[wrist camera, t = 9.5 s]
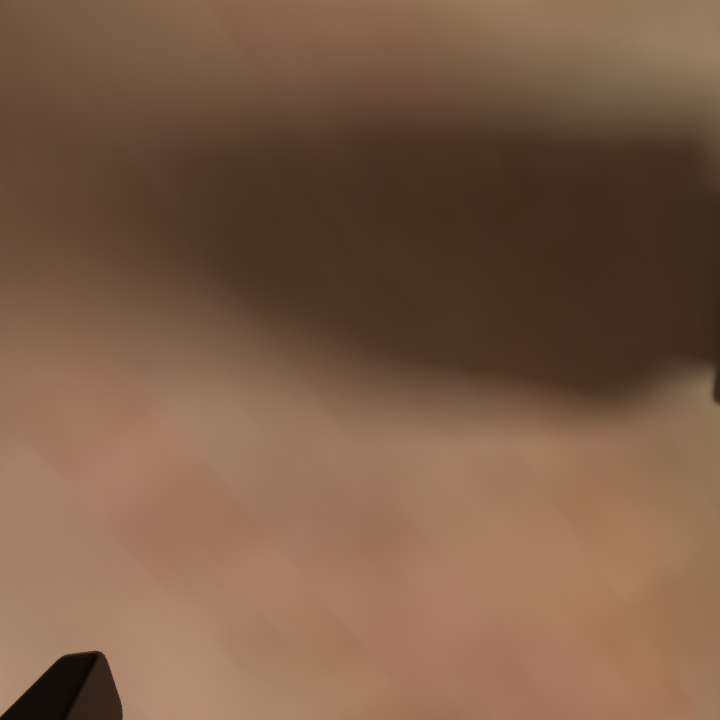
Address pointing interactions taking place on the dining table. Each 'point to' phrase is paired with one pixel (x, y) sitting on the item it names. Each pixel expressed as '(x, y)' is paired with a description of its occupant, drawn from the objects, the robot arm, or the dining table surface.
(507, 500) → the dining table surface
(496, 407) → the dining table surface
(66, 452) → the dining table surface
